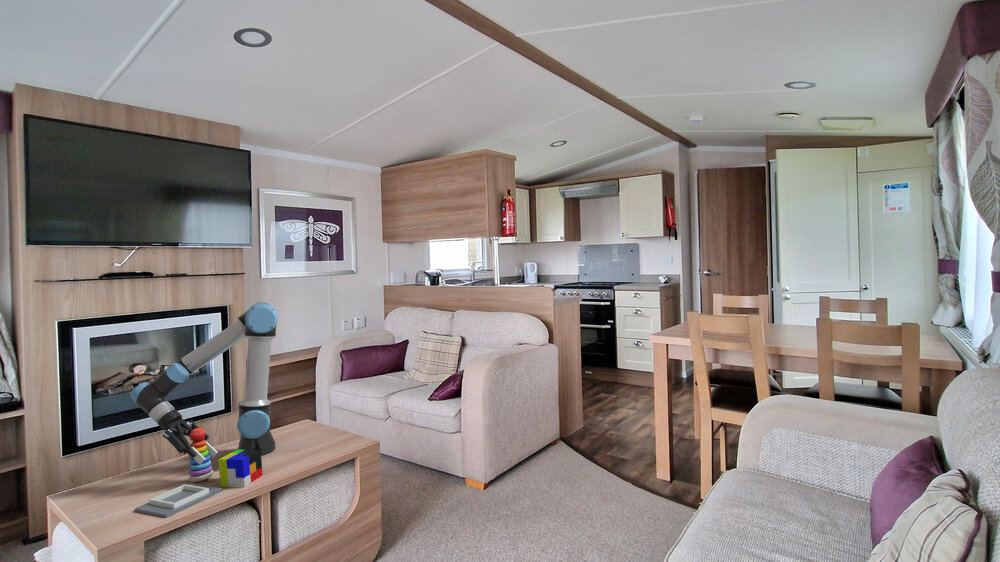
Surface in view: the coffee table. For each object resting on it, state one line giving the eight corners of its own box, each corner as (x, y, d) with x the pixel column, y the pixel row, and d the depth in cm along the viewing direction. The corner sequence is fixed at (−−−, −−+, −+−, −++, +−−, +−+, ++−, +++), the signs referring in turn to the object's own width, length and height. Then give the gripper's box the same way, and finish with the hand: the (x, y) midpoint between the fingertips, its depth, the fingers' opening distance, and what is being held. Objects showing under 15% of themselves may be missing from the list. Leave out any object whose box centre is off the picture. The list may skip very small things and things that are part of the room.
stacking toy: (218, 474, 198) (213, 426, 197) (198, 483, 190) (193, 433, 189) (204, 472, 201) (200, 424, 200) (184, 481, 194) (179, 431, 193)
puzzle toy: (244, 487, 187) (242, 459, 187) (220, 486, 189) (218, 459, 189) (262, 475, 197) (260, 449, 197) (239, 475, 199) (237, 449, 199)
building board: (191, 486, 191) (191, 479, 191) (222, 491, 184) (221, 484, 184) (134, 511, 172) (134, 503, 172) (166, 517, 166) (166, 509, 166)
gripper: (179, 416, 207) (220, 456, 205) (139, 431, 188) (184, 475, 186) (190, 402, 206) (231, 442, 204) (151, 416, 187) (196, 460, 185)
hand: (209, 458), depth 195 cm, fingers closed on stacking toy, 6 cm apart
